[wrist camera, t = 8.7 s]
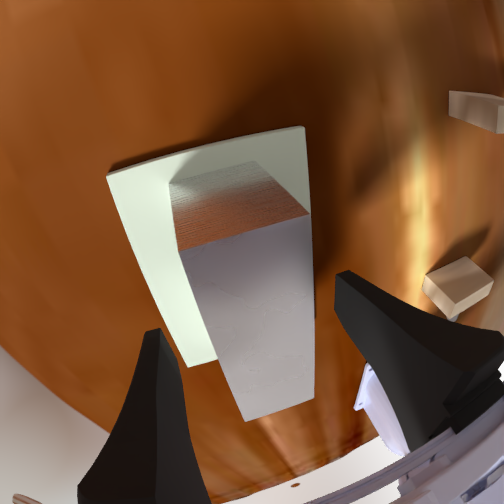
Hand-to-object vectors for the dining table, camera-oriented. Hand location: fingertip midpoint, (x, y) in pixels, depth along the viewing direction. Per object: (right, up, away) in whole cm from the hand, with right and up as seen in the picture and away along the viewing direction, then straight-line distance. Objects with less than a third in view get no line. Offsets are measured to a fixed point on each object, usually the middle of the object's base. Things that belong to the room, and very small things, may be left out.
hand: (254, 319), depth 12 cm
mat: (-1, +2, +3) cm, 4 cm away
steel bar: (-1, +2, +3) cm, 3 cm away
